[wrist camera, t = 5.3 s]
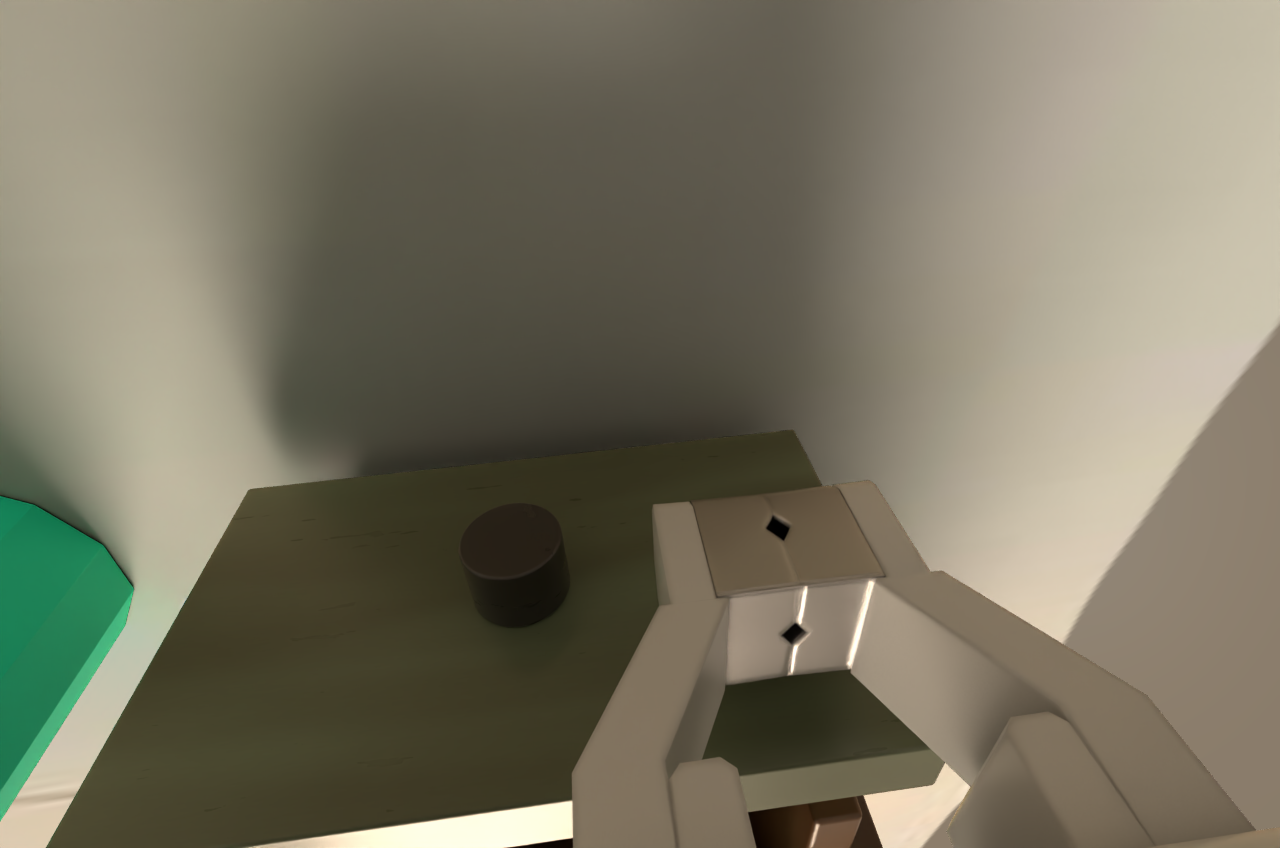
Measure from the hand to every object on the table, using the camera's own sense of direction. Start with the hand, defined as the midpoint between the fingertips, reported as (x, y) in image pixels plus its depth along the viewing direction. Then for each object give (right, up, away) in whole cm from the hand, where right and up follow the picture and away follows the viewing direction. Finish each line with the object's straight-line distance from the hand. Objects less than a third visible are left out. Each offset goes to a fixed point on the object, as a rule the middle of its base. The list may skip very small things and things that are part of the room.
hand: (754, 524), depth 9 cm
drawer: (-4, -4, +8) cm, 10 cm away
